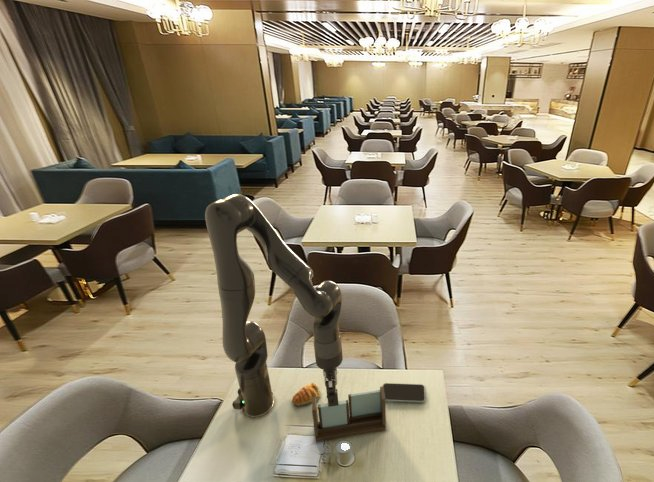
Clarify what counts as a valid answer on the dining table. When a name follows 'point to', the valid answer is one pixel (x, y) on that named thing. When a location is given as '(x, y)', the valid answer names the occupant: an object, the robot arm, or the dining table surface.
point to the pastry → (306, 395)
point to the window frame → (356, 416)
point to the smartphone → (404, 392)
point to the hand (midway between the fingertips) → (332, 390)
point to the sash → (334, 413)
